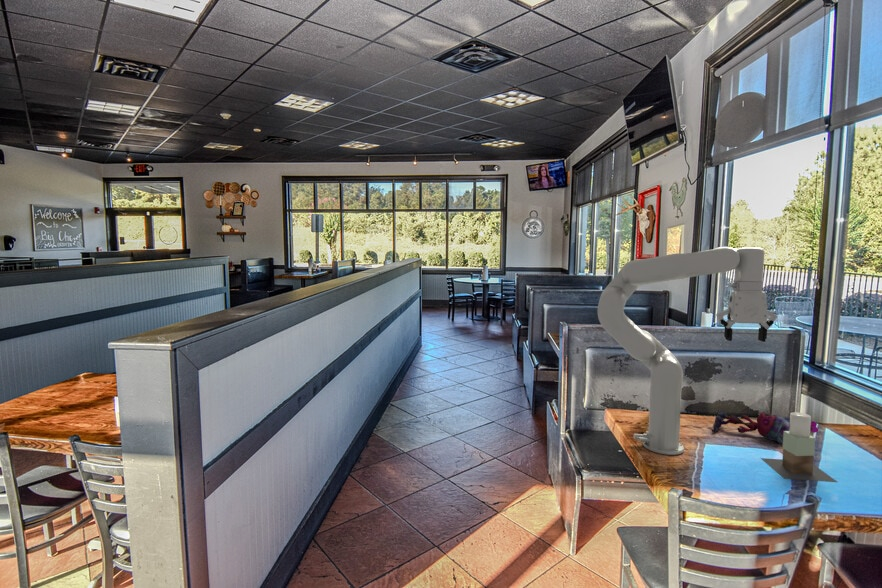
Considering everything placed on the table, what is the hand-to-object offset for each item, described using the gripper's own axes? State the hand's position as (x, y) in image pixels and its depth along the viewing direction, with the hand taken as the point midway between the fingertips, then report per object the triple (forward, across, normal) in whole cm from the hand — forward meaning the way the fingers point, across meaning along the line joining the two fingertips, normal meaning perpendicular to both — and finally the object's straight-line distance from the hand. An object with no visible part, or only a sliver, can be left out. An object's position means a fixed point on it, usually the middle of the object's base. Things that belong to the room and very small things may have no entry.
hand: (745, 340), depth 152 cm
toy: (+39, +16, +18) cm, 45 cm away
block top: (+32, +13, -8) cm, 36 cm away
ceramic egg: (+27, +13, -8) cm, 31 cm away
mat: (+38, +13, -8) cm, 41 cm away
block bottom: (+38, +13, -8) cm, 41 cm away
